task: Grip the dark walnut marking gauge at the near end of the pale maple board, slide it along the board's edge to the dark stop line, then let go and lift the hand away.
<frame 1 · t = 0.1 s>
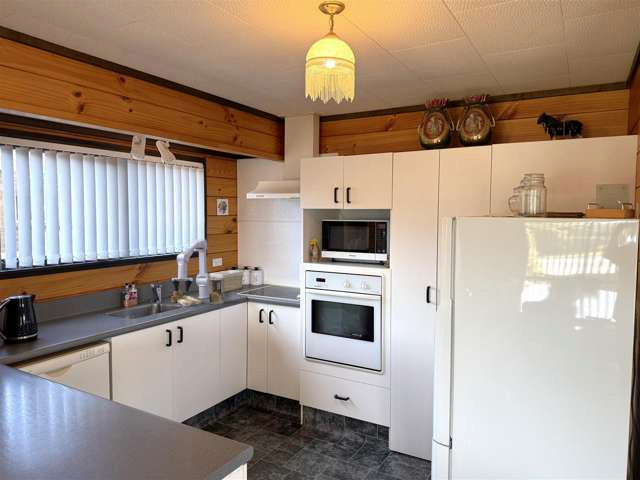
hand: (182, 291, 302), 10 cm above the worktop, tool pointing down, fingers open, 7 cm apart
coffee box: (217, 303, 312), on the worktop
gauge: (179, 296, 321), point 4 cm above the worktop, slide at -7.0 cm
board: (187, 302, 317), on the worktop
storage basket: (227, 290, 363), on the worktop
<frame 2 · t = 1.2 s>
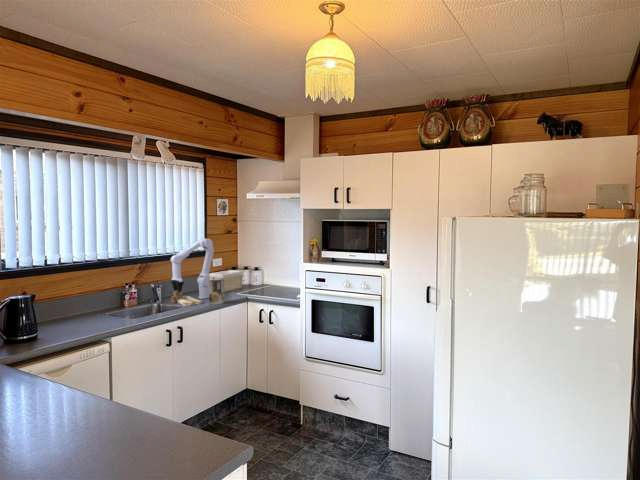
hand: (177, 290, 320), 8 cm above the worktop, tool pointing down, fingers open, 7 cm apart
nothing on the worktop moved.
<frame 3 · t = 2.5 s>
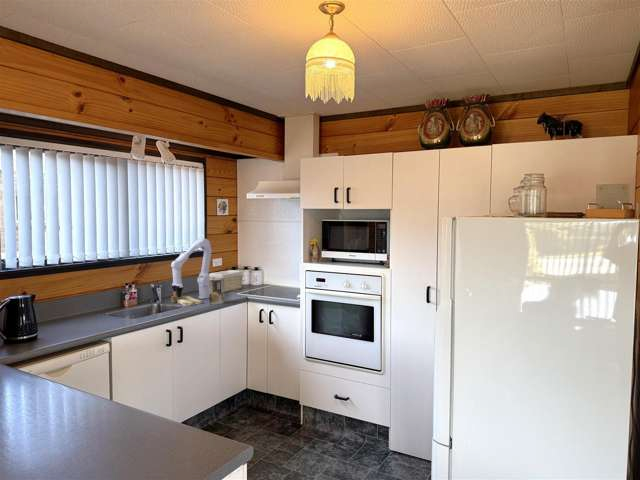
hand: (178, 296, 320), 4 cm above the worktop, tool pointing down, fingers closed on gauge, 4 cm apart
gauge: (179, 296, 321), point 4 cm above the worktop, slide at -7.0 cm, touching gripper
everything else where it was.
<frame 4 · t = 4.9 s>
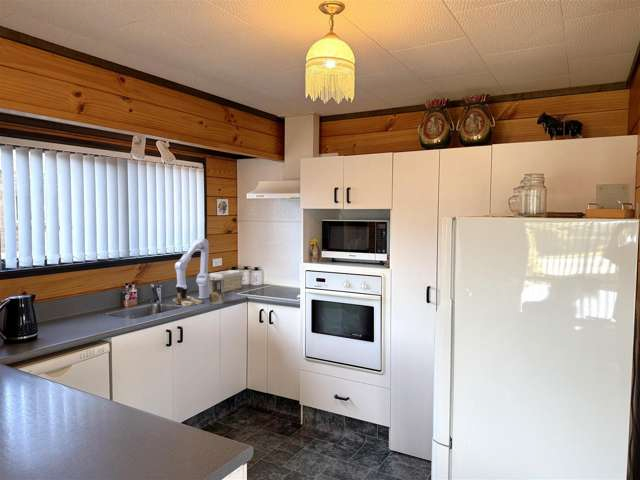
hand: (182, 297, 314), 4 cm above the worktop, tool pointing down, fingers closed on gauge, 4 cm apart
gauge: (183, 297, 314), point 4 cm above the worktop, slide at 1.1 cm, touching gripper
everything else where it was.
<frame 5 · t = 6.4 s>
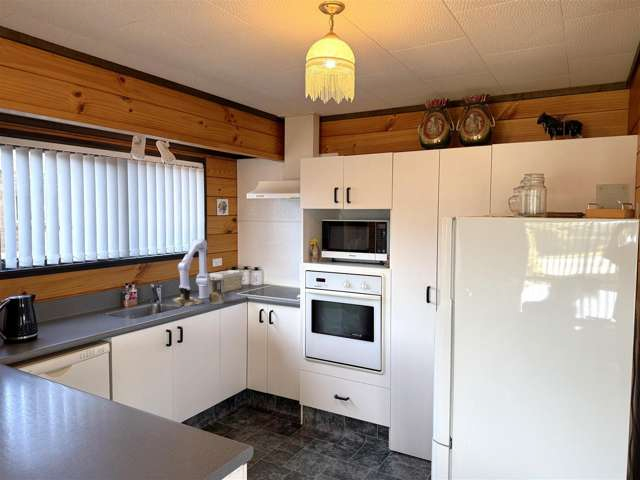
hand: (185, 299, 309), 4 cm above the worktop, tool pointing down, fingers closed on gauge, 4 cm apart
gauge: (186, 298, 310), point 4 cm above the worktop, slide at 7.0 cm, touching gripper
everything else where it was.
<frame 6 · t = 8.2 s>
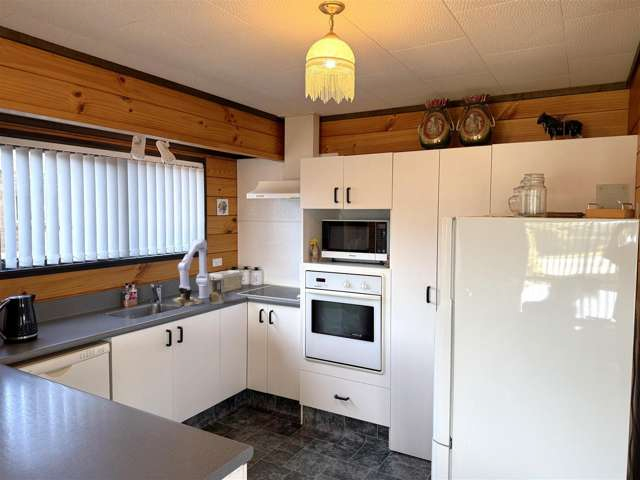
hand: (185, 299, 309), 4 cm above the worktop, tool pointing down, fingers open, 7 cm apart
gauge: (186, 298, 310), point 4 cm above the worktop, slide at 7.0 cm
everything else where it was.
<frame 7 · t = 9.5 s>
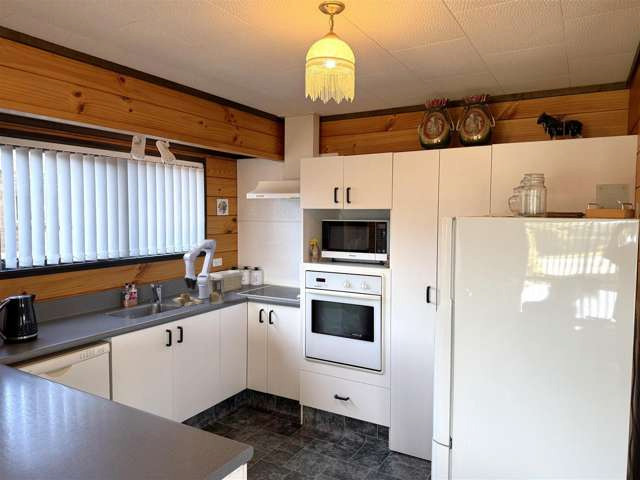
hand: (191, 288, 318), 9 cm above the worktop, tool pointing down, fingers open, 7 cm apart
nothing on the worktop moved.
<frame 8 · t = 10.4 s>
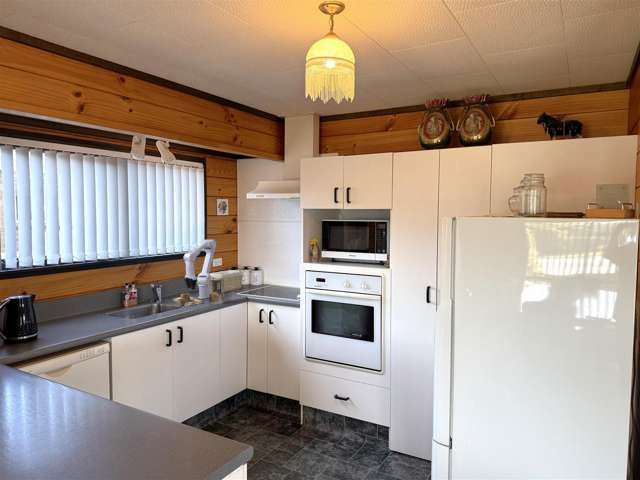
hand: (191, 288, 318), 9 cm above the worktop, tool pointing down, fingers open, 7 cm apart
nothing on the worktop moved.
at the end: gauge slide at 7.0 cm; the gripper is holding nothing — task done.
